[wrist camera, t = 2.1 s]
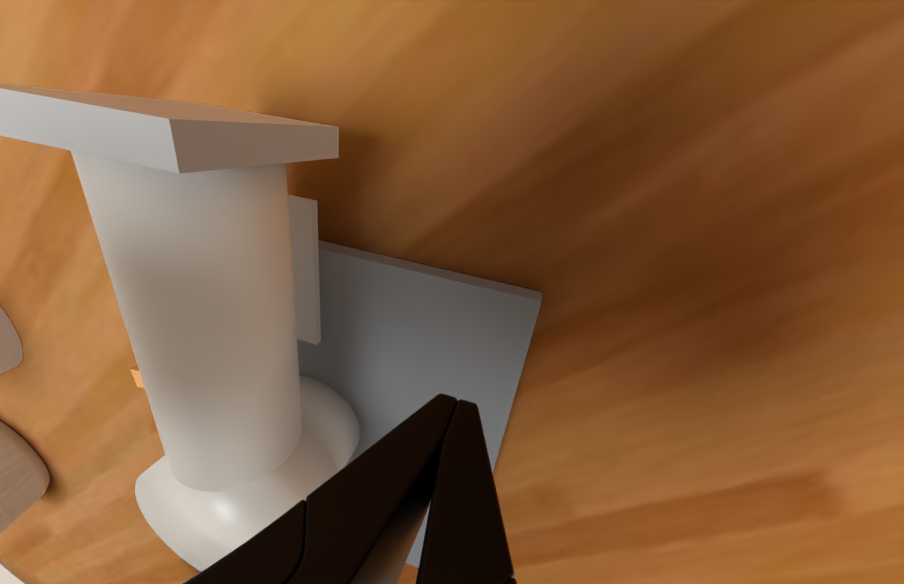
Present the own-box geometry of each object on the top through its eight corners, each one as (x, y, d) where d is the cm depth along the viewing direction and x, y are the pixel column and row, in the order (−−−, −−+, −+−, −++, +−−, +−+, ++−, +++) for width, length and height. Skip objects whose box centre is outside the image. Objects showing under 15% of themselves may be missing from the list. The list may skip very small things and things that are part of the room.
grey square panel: (464, 568, 20) (449, 639, 17) (180, 461, 24) (130, 505, 21) (555, 244, 12) (557, 278, 9) (90, 147, 15) (-17, 149, 12)
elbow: (353, 512, 17) (286, 641, 12) (238, 469, 18) (139, 574, 13) (365, 131, 9) (213, 126, 5) (170, 98, 11) (-89, 71, 6)
